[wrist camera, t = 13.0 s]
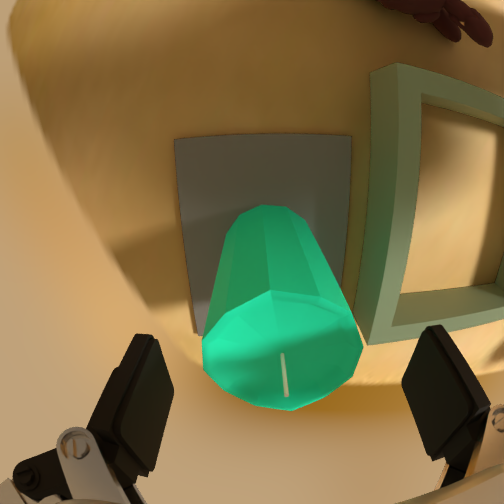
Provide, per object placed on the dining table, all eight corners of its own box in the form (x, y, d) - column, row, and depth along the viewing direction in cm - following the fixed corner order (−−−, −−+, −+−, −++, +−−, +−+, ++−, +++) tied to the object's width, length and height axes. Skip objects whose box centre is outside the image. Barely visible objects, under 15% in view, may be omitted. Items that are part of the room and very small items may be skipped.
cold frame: (369, 72, 15) (396, 62, 11) (528, 122, 14) (557, 128, 11) (352, 313, 22) (367, 345, 18) (498, 294, 22) (519, 314, 18)
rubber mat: (175, 139, 17) (174, 139, 17) (349, 136, 17) (351, 136, 16) (198, 332, 23) (198, 335, 23) (332, 328, 23) (333, 331, 22)
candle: (317, 278, 20) (367, 421, 9) (235, 292, 21) (220, 443, 10) (308, 196, 18) (384, 305, 7) (215, 213, 18) (164, 340, 8)
